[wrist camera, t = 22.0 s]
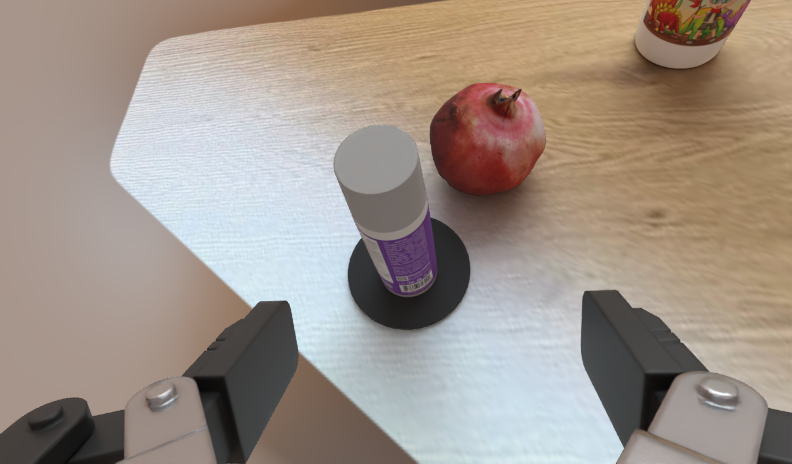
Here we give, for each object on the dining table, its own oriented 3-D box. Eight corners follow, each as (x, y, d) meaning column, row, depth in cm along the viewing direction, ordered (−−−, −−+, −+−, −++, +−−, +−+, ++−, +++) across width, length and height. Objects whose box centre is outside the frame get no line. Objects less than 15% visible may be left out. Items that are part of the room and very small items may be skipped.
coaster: (414, 196, 39) (414, 194, 39) (496, 273, 35) (496, 271, 35) (326, 266, 37) (324, 264, 37) (400, 357, 33) (399, 355, 33)
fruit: (412, 170, 41) (397, 90, 32) (485, 112, 43) (490, 22, 34) (483, 233, 37) (488, 161, 28) (561, 166, 39) (589, 79, 30)
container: (442, 248, 36) (429, 126, 23) (431, 302, 34) (409, 202, 21) (387, 240, 37) (345, 119, 24) (374, 291, 35) (319, 190, 22)
